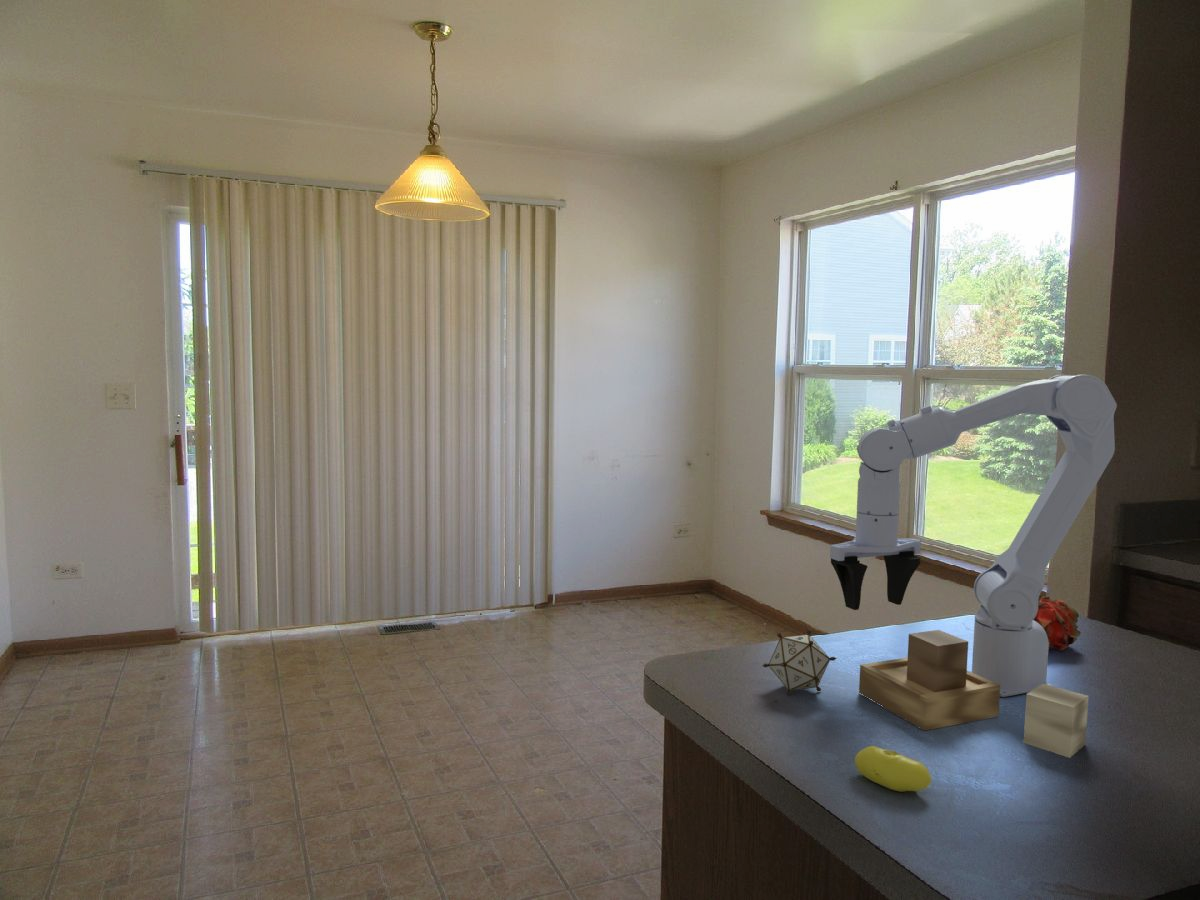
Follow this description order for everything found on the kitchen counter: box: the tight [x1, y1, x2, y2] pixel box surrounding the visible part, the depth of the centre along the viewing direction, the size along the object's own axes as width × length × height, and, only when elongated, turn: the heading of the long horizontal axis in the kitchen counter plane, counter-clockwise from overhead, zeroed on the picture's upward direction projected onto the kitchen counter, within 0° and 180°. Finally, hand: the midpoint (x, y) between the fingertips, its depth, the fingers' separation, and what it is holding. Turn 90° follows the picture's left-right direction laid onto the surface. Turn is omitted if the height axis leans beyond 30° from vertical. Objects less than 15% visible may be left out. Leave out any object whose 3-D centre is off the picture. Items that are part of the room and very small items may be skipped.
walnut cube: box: [907, 629, 969, 692], centre depth 104 cm, size 5×5×6 cm
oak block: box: [858, 656, 1001, 731], centre depth 106 cm, size 12×12×4 cm
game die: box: [761, 628, 837, 697], centre depth 110 cm, size 9×8×10 cm
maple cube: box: [1022, 684, 1089, 759], centre depth 95 cm, size 5×5×6 cm
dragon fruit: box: [1033, 596, 1082, 651], centre depth 129 cm, size 8×8×12 cm
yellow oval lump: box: [854, 745, 932, 793], centre depth 85 cm, size 4×8×4 cm, turn 44°
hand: (873, 605), depth 117 cm, fingers open, 7 cm apart
